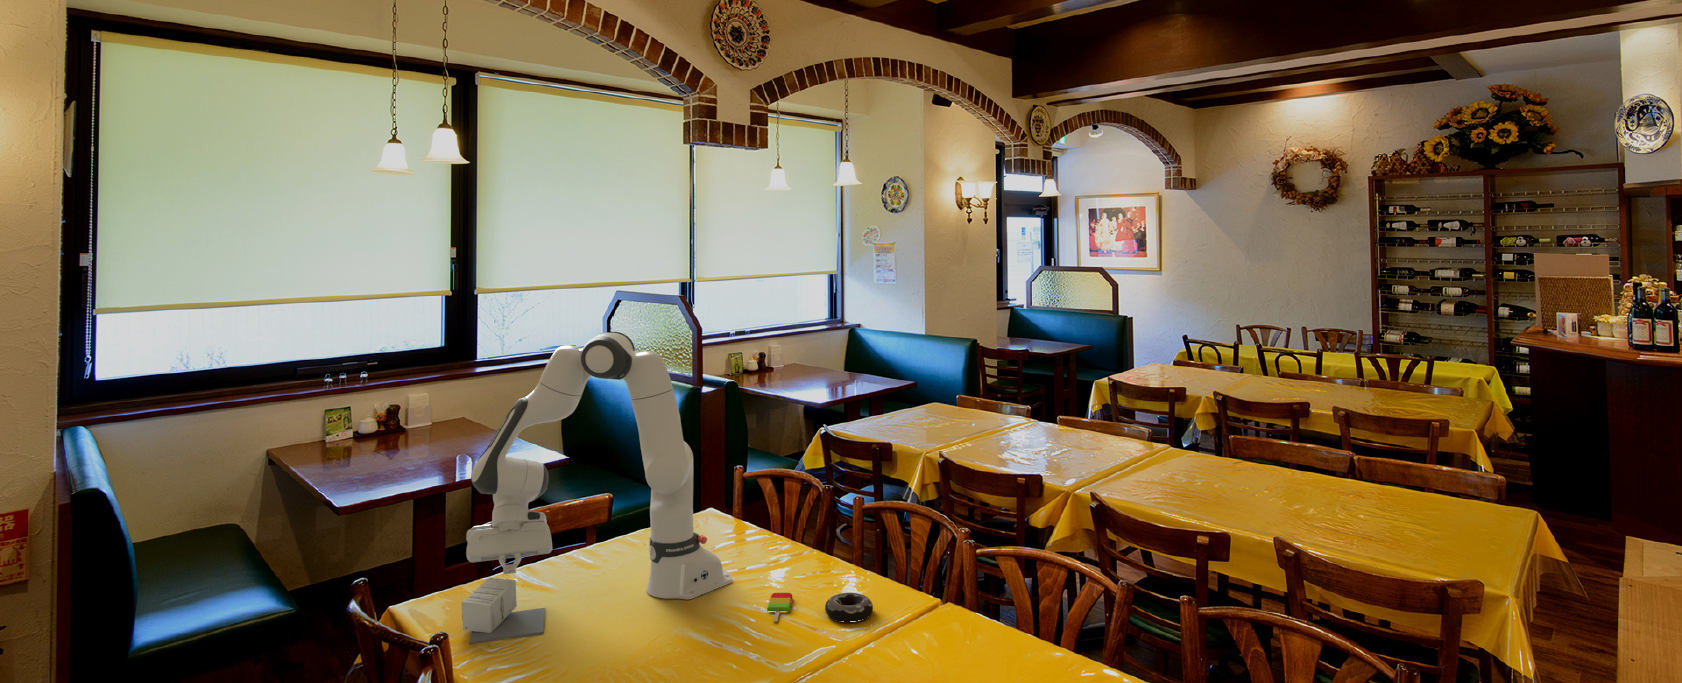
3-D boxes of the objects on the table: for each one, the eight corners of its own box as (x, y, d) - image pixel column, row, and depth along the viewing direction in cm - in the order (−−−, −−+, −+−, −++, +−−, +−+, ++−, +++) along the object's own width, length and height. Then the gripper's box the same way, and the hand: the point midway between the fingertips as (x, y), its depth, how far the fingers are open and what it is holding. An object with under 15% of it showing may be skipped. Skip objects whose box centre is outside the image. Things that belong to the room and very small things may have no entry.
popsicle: (793, 599, 212) (792, 591, 212) (786, 625, 197) (786, 617, 197) (771, 598, 213) (771, 591, 212) (763, 624, 198) (763, 617, 197)
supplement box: (517, 606, 205) (491, 634, 193) (489, 602, 206) (461, 630, 194) (517, 579, 204) (490, 606, 191) (488, 575, 204) (460, 602, 192)
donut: (864, 602, 209) (864, 587, 209) (879, 622, 198) (879, 606, 197) (820, 608, 206) (819, 593, 206) (832, 628, 195) (832, 612, 194)
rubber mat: (475, 618, 202) (475, 616, 202) (545, 609, 207) (545, 607, 207) (468, 644, 189) (468, 641, 189) (543, 633, 194) (543, 631, 194)
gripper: (465, 521, 208) (462, 572, 200) (550, 512, 214) (551, 562, 206) (468, 532, 213) (466, 583, 205) (552, 523, 219) (553, 572, 211)
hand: (509, 572), depth 205 cm, fingers closed
